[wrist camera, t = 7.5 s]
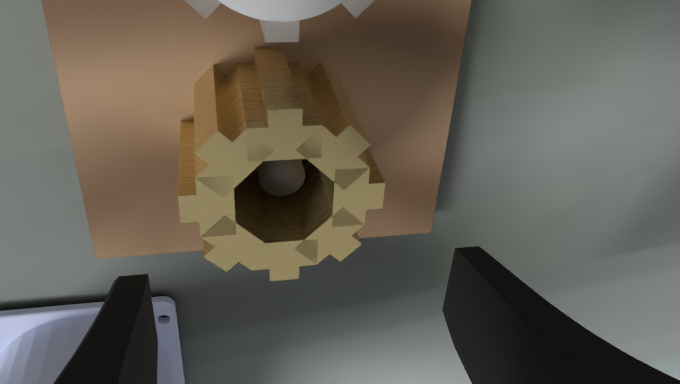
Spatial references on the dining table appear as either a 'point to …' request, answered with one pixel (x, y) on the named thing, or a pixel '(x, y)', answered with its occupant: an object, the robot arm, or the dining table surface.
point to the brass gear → (268, 145)
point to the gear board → (224, 52)
